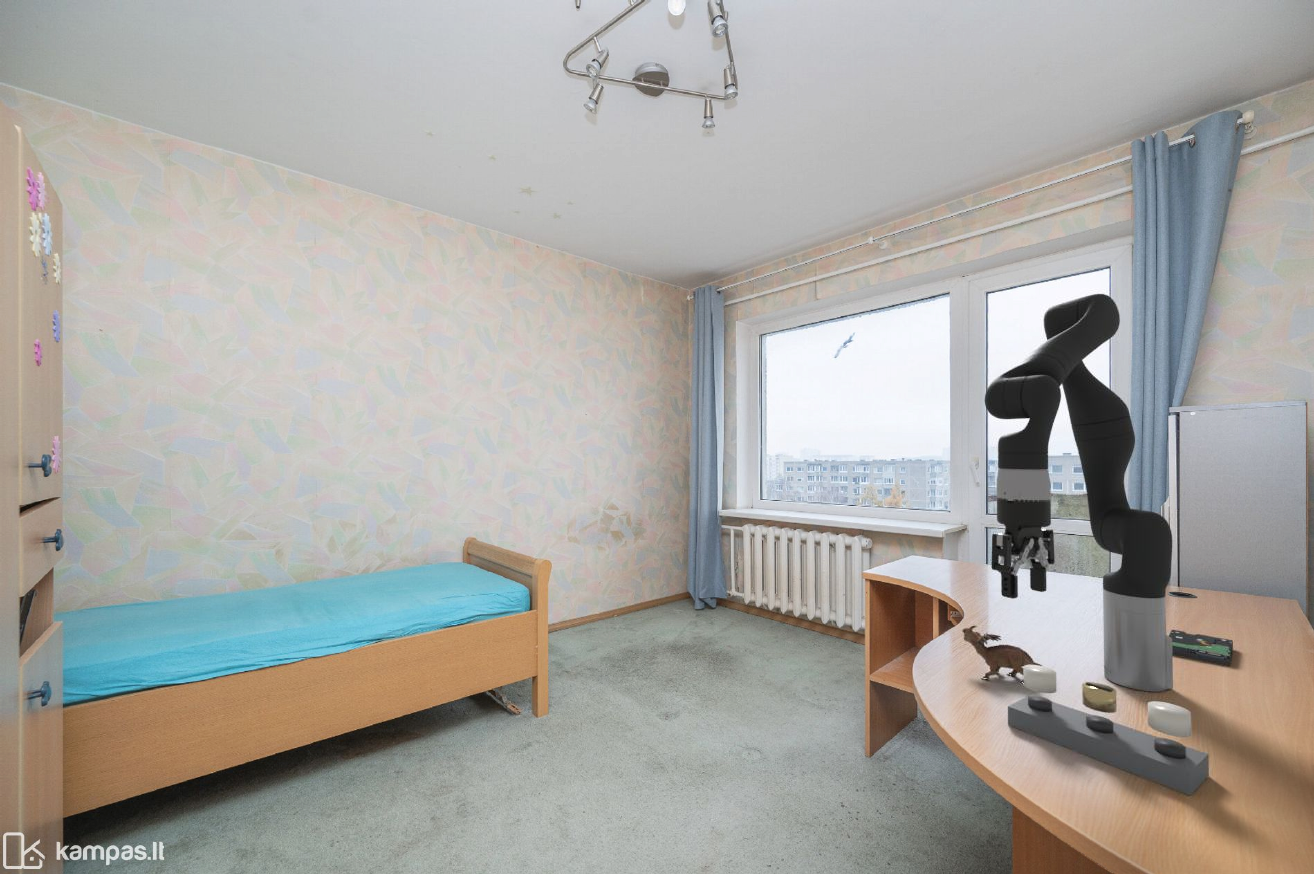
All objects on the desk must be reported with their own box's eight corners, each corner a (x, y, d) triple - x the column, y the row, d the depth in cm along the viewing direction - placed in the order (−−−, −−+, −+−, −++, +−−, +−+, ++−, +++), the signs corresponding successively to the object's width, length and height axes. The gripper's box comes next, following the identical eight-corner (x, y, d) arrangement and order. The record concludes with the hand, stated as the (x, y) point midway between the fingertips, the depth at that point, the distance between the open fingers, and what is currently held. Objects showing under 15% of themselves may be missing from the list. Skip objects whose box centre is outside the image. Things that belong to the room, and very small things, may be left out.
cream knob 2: (1195, 731, 76) (1195, 710, 76) (1185, 740, 74) (1185, 719, 74) (1154, 718, 80) (1153, 698, 80) (1143, 726, 78) (1142, 706, 78)
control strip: (1208, 776, 76) (1208, 745, 76) (1190, 795, 72) (1189, 762, 72) (1031, 712, 95) (1030, 687, 95) (1008, 724, 90) (1007, 698, 91)
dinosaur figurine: (966, 677, 109) (965, 630, 110) (962, 667, 115) (962, 621, 115) (1049, 689, 104) (1048, 639, 104) (1041, 677, 109) (1040, 630, 110)
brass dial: (1121, 708, 83) (1120, 687, 83) (1110, 715, 81) (1110, 694, 81) (1088, 698, 86) (1088, 678, 86) (1077, 704, 84) (1077, 684, 84)
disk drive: (1170, 640, 133) (1164, 655, 123) (1170, 628, 133) (1164, 642, 123) (1233, 652, 125) (1232, 669, 115) (1233, 639, 125) (1231, 655, 115)
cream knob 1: (1061, 689, 90) (1061, 671, 90) (1049, 695, 87) (1048, 677, 87) (1031, 679, 93) (1031, 662, 93) (1018, 685, 91) (1018, 668, 91)
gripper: (1023, 493, 99) (1024, 584, 99) (975, 496, 93) (976, 594, 92) (1070, 496, 93) (1072, 594, 93) (1022, 499, 86) (1024, 605, 86)
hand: (1024, 594), depth 92 cm, fingers open, 8 cm apart
